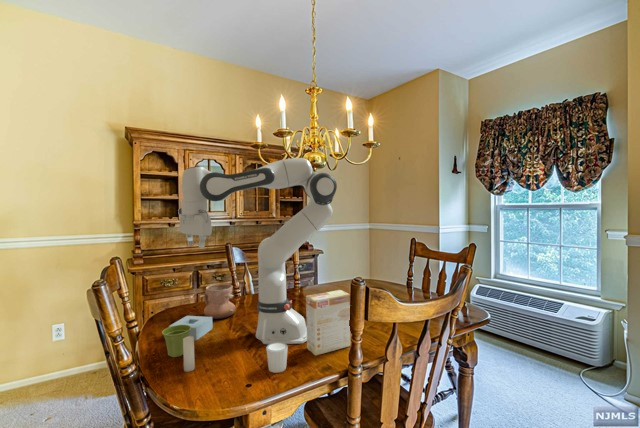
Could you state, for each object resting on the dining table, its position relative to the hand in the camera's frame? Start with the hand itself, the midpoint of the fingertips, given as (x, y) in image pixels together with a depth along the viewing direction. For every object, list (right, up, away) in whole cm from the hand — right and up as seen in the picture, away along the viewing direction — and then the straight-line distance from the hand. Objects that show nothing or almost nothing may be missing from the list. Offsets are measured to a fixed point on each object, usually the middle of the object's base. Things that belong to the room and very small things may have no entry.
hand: (196, 246), depth 119 cm
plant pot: (-4, -38, -7) cm, 38 cm away
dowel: (+5, -38, -18) cm, 42 cm away
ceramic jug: (-1, -37, +31) cm, 48 cm away
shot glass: (+33, -37, -18) cm, 53 cm away
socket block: (-6, -37, +11) cm, 39 cm away
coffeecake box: (+50, -37, -4) cm, 62 cm away
